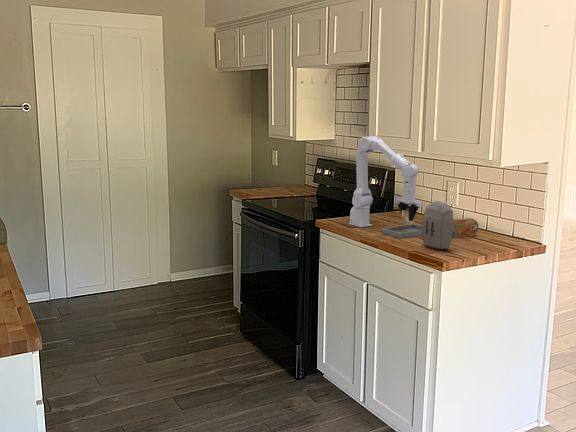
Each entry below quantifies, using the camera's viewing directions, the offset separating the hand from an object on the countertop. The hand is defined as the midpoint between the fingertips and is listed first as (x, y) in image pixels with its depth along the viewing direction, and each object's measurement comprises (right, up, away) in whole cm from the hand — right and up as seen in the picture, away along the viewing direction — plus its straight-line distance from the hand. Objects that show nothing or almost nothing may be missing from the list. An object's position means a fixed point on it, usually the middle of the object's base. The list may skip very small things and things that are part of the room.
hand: (407, 219), depth 264 cm
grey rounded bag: (+6, -12, -24) cm, 27 cm away
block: (0, -2, 0) cm, 2 cm away
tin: (+24, -8, -3) cm, 26 cm away
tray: (0, -7, +1) cm, 7 cm away
